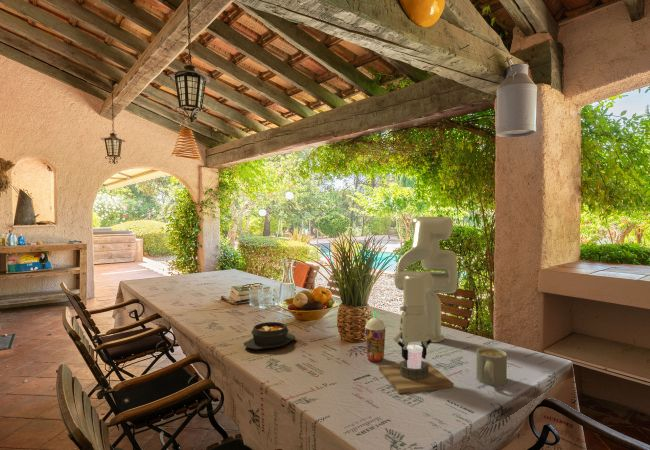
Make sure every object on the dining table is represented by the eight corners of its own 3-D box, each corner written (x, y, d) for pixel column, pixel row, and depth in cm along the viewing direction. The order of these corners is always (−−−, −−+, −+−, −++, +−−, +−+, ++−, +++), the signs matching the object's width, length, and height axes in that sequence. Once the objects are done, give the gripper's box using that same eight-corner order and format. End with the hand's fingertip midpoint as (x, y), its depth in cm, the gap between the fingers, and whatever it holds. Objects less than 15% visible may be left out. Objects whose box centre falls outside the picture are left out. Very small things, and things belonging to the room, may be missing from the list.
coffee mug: (483, 371, 149) (483, 345, 149) (510, 379, 142) (510, 351, 142) (467, 383, 139) (467, 355, 139) (496, 392, 133) (496, 362, 132)
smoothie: (369, 364, 157) (369, 314, 156) (362, 357, 165) (361, 309, 164) (389, 362, 159) (389, 312, 158) (380, 355, 167) (380, 307, 166)
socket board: (378, 369, 152) (378, 356, 151) (427, 365, 156) (427, 352, 155) (398, 393, 132) (398, 378, 132) (453, 387, 136) (453, 373, 136)
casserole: (259, 357, 166) (259, 337, 166) (235, 346, 179) (235, 328, 179) (304, 342, 184) (304, 324, 183) (279, 334, 197) (278, 317, 196)
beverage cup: (410, 376, 140) (410, 337, 139) (402, 369, 146) (402, 332, 145) (426, 374, 142) (426, 335, 141) (417, 367, 148) (417, 330, 147)
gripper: (395, 313, 138) (395, 364, 138) (441, 310, 141) (441, 360, 142) (387, 308, 145) (387, 356, 146) (431, 305, 148) (431, 352, 149)
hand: (414, 357), depth 144 cm, fingers closed on beverage cup, 6 cm apart
